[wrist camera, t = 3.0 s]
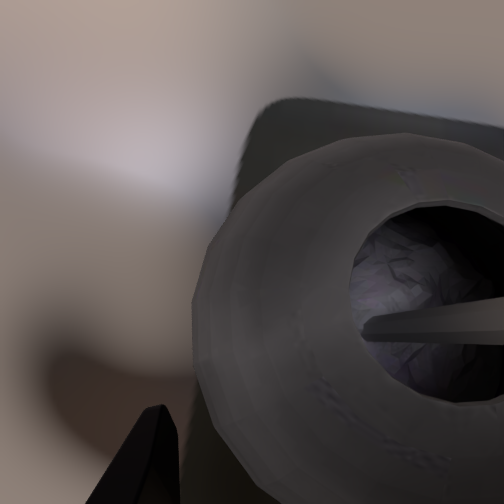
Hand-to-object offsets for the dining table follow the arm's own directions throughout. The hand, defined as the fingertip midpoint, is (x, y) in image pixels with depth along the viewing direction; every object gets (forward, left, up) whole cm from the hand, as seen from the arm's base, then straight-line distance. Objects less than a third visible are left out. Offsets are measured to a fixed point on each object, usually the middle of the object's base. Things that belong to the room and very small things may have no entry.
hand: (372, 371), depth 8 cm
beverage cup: (+1, -1, -11) cm, 11 cm away
